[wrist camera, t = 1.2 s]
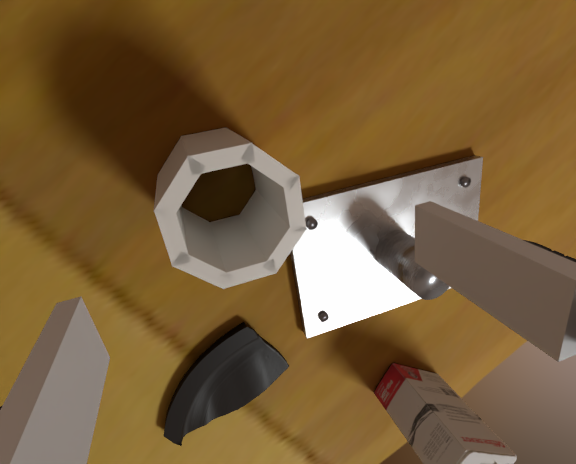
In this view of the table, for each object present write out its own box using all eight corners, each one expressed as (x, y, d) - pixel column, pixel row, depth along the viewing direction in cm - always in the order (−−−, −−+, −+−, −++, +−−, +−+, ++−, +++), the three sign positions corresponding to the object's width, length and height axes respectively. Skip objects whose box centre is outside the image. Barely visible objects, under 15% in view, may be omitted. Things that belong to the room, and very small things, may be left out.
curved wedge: (129, 403, 33) (127, 417, 32) (243, 313, 33) (246, 323, 32) (188, 442, 37) (189, 456, 35) (290, 360, 37) (295, 371, 36)
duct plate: (303, 332, 36) (332, 382, 30) (282, 203, 30) (312, 233, 24) (466, 276, 40) (520, 310, 34) (474, 155, 34) (542, 169, 28)
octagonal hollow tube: (178, 242, 28) (183, 301, 20) (147, 142, 25) (138, 165, 17) (273, 217, 30) (311, 262, 22) (256, 121, 27) (293, 133, 19)
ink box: (371, 393, 42) (437, 491, 32) (391, 360, 41) (467, 451, 31) (419, 402, 46) (493, 493, 36) (439, 373, 45) (521, 457, 35)
